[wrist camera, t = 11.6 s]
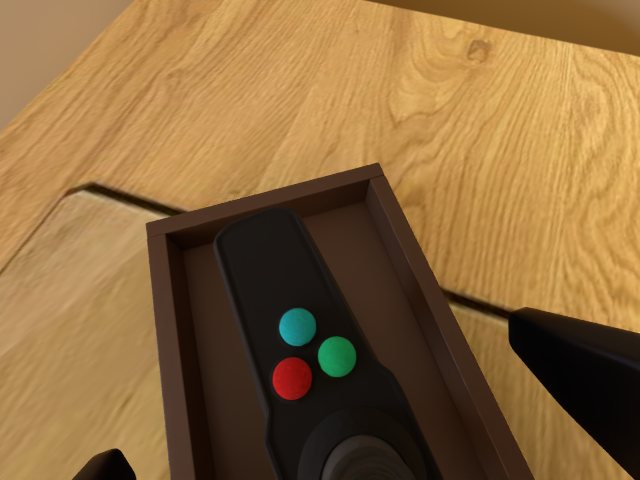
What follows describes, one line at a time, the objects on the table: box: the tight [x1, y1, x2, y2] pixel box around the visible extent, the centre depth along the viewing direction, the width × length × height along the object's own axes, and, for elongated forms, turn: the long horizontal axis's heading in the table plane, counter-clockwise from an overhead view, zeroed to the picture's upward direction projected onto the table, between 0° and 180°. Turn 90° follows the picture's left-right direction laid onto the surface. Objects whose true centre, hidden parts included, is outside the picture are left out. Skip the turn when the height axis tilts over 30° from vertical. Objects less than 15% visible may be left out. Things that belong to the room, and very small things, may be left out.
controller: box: [213, 206, 444, 480], centre depth 12 cm, size 4×12×10 cm, turn 25°
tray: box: [146, 163, 535, 480], centre depth 16 cm, size 20×14×3 cm
